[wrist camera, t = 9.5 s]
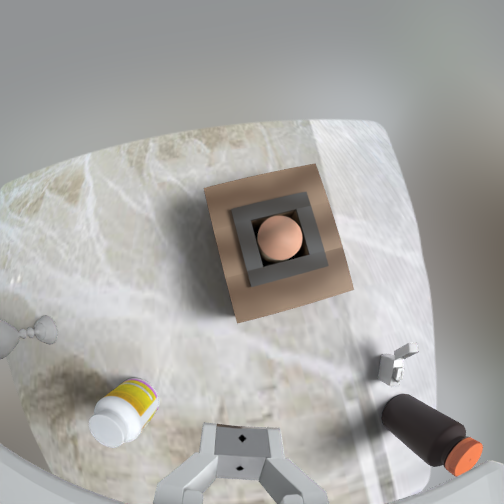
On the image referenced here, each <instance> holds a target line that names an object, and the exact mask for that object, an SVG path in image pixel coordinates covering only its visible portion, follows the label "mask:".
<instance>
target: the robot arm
mask: <svg viewBox="0 0 504 504" xmlns="http://www.w3.org/2000/svg"><path fill="white" fill-rule="evenodd" d="M216 425H217V428H216ZM216 478H228V479H245V480H259V482H260V483H261V485H262V486H263V487H264V488H265V490H266V491H267V492H268V493H269V495H270V496H271V497H272V498H273V499H274V501H275V502H276V503H277V504H329V501H328V497H327V493H326V491H325V490H324V489H323V488H322V487H321V486H319V485H318V484H317V483H316V482H315V481H314V480H312V479H311V478H310V477H309V476H308V475H307V474H306V473H304V472H303V471H302V470H301V469H300V468H299V467H298V466H297V465H296V464H295V463H293V462H292V461H291V460H290V459H289V458H285V455H284V449H283V443H282V436H281V430H280V428H266V427H245V426H242V427H240V426H230V425H222V424H213V423H206V422H204V424H203V428H202V435H201V443H200V450H199V453H197V452H195V453H194V454H193V455H192V456H191V457H189V458H188V459H187V460H186V461H185V462H183V463H182V464H181V465H180V466H179V467H177V468H176V469H175V470H174V471H173V472H171V473H170V474H169V475H168V476H166V477H165V478H164V479H162V480H161V481H160V482H159V483H158V484H157V488H156V492H155V497H154V501H153V504H203V492H204V491H205V490H206V489H207V488H208V487H209V486H210V485H211V484H212V483H213V482H214V480H215V479H216ZM0 504H129V503H125V502H122V501H119V500H115V499H112V498H109V497H106V496H103V495H101V494H98V493H95V492H93V491H90V490H87V489H85V488H82V487H80V486H78V485H75V484H73V483H71V482H68V481H66V480H64V479H62V478H60V477H58V476H56V475H54V474H52V473H49V472H48V471H46V470H44V469H42V468H40V467H38V466H36V465H35V464H32V463H31V462H29V461H27V460H26V459H24V458H22V457H21V456H19V455H17V454H16V453H14V452H13V451H11V450H10V449H8V448H6V447H5V446H4V445H2V444H1V443H0ZM386 504H504V464H502V463H499V462H495V461H491V460H489V461H485V462H483V463H481V464H480V465H478V466H476V467H474V468H473V469H471V470H469V471H467V472H465V473H463V474H461V475H459V476H457V477H455V478H453V479H451V480H448V481H446V482H444V483H442V484H439V485H437V486H435V487H432V488H430V489H427V490H425V491H422V492H420V493H417V494H414V495H411V496H408V497H406V498H403V499H399V500H396V501H393V502H390V503H386Z"/></svg>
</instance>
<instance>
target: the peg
mask: <svg viewBox="0 0 504 504" xmlns="http://www.w3.org/2000/svg"><path fill="white" fill-rule="evenodd" d="M256 242H257V246H258V249H259V253H260V257H261V261H262V262H263V263H264V264H266V265H273V264H276V263H280V262H284V261H286V260H288V259H289V258H291V257H292V256H294V255H295V254H296V253H297V252H298V251H299V249H300V247H301V244H302V232H301V229H300V227H299V226H298V224H297V223H296V222H295V221H294V220H292V219H291V218H289V217H286V216H273V217H270V218H268V219H267V220H266V221H264V222H263V224H262V225H261V227H260V229H259V232H258V236H257V239H256Z"/></svg>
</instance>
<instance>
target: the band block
mask: <svg viewBox="0 0 504 504" xmlns="http://www.w3.org/2000/svg"><path fill="white" fill-rule="evenodd" d="M204 192H205V196H206V200H207V205H208V209H209V213H210V218H211V222H212V226H213V230H214V234H215V238H216V243H217V247H218V251H219V255H220V259H221V263H222V267H223V271H224V275H225V279H226V283H227V286H228V290H229V294H230V298H231V302H232V306H233V309H234V313H235V317H236V321H237V323H241V322H245V321H249V320H253V319H256V318H260V317H264V316H268V315H271V314H275V313H279V312H282V311H286V310H289V309H293V308H296V307H300V306H303V305H306V304H310V303H313V302H316V301H320V300H323V299H326V298H329V297H333V296H336V295H339V294H342V293H345V292H348V291H351V290H354V288H353V284H352V280H351V276H350V272H349V268H348V265H347V261H346V257H345V254H344V250H343V247H342V243H341V240H340V236H339V233H338V230H337V226H336V223H335V220H334V217H333V214H332V210H331V207H330V204H329V201H328V198H327V195H326V192H325V189H324V186H323V183H322V181H321V178H320V175H319V172H318V169H317V167H316V164H310V165H305V166H300V167H294V168H289V169H284V170H280V171H275V172H270V173H265V174H261V175H256V176H252V177H247V178H243V179H239V180H235V181H230V182H226V183H222V184H218V185H214V186H210V187H206V188H204ZM273 216H286V217H289V218H291V219H292V220H294V221H295V222H296V223H297V224H298V226H299V227H300V229H301V232H302V244H301V247H300V249H299V251H298V252H297V253H296V254H295V259H292V260H288V261H284V262H280V263H276V264H273V265H269V266H265V267H263V264H262V261H261V257H260V253H259V249H258V246H257V242H256V238H255V235H254V233H255V232H259V229H260V227H261V225H262V224H263V222H264V221H266V220H267V219H268V218H270V217H273Z"/></svg>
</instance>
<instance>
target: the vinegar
mask: <svg viewBox="0 0 504 504" xmlns="http://www.w3.org/2000/svg"><path fill="white" fill-rule="evenodd" d="M382 423H383V424H384V426H385V427H386V428H387V429H388V430H389V431H390V432H392V433H393V434H394V435H395V436H396V437H397V438H398V439H399V440H401V441H402V442H403V443H404V444H405V445H406V446H407V447H409V448H410V449H411V450H412V451H413V452H414V453H415V454H417V455H418V456H419V457H420V458H421V459H422V460H424V461H425V462H426V463H427V464H428V465H430V466H433V467H436V466H441V465H444V467H445V468H446V470H448V471H449V472H450V473H452V474H453V475H454V476H456V477H457V476H459V475H461V474H463V473H465V472H467V471H469V470H470V469H471V468H472V467H473V466H474V465H475V464H476V462H477V461H478V459H479V458H480V456H481V453H482V448H483V447H482V444H481V443H480V442H478V441H476V440H474V439H472V438H471V437H466V430H465V428H464V426H463V425H462V424H460V423H459V422H457V421H455V420H453V419H451V418H450V417H448V416H446V415H444V414H442V413H440V412H439V411H437V410H435V409H433V408H432V407H430V406H428V405H426V404H425V403H423V402H421V401H419V400H418V399H416V398H414V397H412V396H411V395H408V394H401V395H398V396H396V397H394V398H393V399H392V400H391V401H389V402H388V404H387V405H386V406H385V408H384V410H383V413H382Z"/></svg>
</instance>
